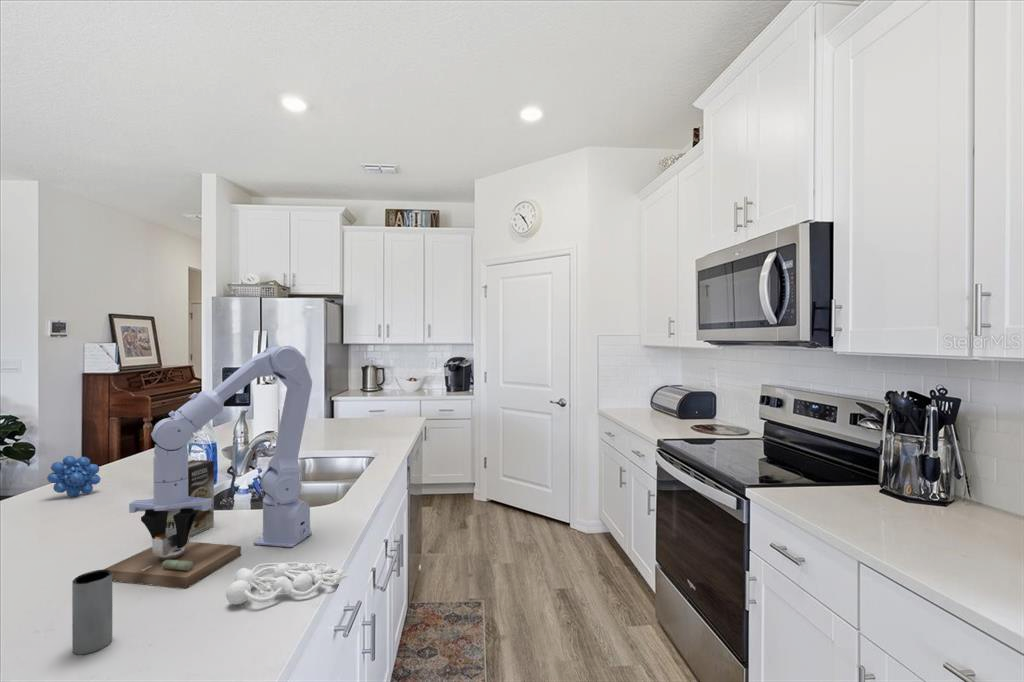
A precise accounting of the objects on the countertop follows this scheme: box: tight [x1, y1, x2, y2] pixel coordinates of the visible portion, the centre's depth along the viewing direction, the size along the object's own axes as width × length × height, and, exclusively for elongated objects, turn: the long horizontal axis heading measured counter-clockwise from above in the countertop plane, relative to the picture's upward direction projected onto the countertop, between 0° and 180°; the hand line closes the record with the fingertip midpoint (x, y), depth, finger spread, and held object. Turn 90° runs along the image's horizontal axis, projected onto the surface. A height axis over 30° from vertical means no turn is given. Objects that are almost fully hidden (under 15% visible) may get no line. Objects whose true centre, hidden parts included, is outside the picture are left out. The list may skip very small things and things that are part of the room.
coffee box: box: [166, 459, 215, 538], centre depth 116 cm, size 9×6×16 cm
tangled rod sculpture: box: [225, 561, 348, 606], centre depth 91 cm, size 19×14×4 cm
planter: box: [71, 569, 113, 655], centre depth 73 cm, size 4×4×10 cm
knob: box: [151, 529, 190, 560], centre depth 99 cm, size 6×4×5 cm
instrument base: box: [102, 541, 242, 589], centre depth 98 cm, size 18×14×4 cm
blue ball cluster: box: [46, 455, 101, 498], centre depth 142 cm, size 12×7×12 cm, turn 139°
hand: (171, 546), depth 99 cm, fingers closed on knob, 3 cm apart
